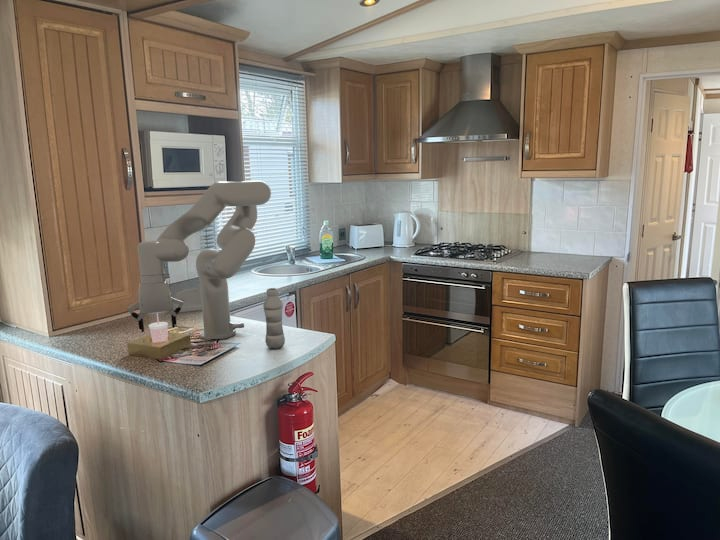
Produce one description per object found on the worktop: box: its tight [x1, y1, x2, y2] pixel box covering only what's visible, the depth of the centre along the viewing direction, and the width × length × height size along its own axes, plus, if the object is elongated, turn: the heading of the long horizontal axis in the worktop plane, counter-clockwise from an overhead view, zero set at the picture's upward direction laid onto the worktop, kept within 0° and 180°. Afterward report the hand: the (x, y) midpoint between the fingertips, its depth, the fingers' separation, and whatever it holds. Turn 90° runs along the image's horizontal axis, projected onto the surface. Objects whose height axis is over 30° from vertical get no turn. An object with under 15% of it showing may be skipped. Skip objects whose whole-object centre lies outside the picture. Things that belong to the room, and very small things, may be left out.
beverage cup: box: [148, 313, 169, 343], centre depth 177 cm, size 6×6×14 cm
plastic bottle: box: [263, 287, 286, 349], centre depth 176 cm, size 6×7×20 cm
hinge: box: [175, 287, 202, 313], centre depth 231 cm, size 17×5×10 cm, turn 109°
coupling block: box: [126, 331, 192, 360], centre depth 178 cm, size 14×14×4 cm
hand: (158, 329), depth 177 cm, fingers open, 9 cm apart
